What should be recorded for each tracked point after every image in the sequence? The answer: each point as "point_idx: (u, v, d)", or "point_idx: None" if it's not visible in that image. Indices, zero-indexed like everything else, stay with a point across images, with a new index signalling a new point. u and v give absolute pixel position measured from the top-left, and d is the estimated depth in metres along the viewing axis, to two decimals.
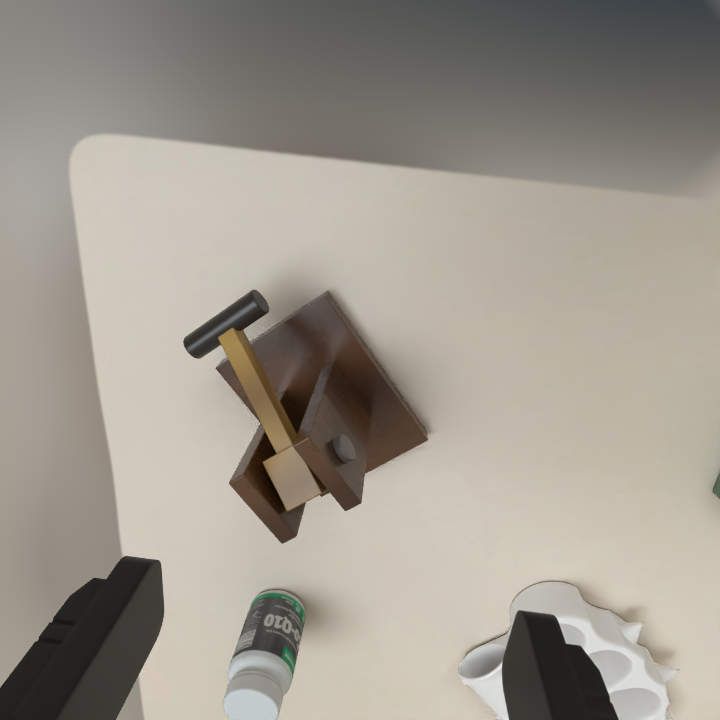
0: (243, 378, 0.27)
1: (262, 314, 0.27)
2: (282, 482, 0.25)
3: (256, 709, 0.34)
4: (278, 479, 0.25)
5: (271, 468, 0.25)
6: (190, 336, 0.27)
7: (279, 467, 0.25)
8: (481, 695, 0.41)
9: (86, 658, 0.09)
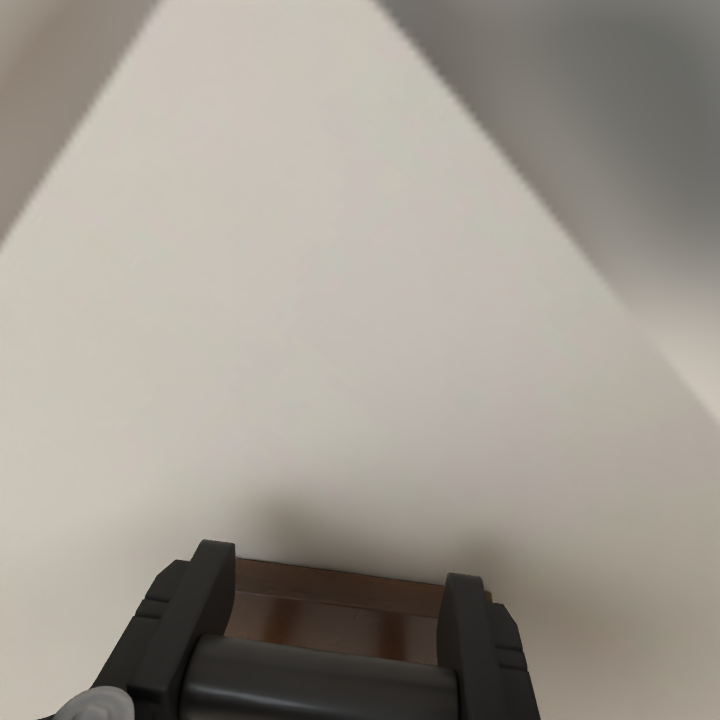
0: None
1: None
2: None
3: None
4: None
5: None
6: (214, 677, 0.09)
7: None
8: None
9: (186, 630, 0.09)
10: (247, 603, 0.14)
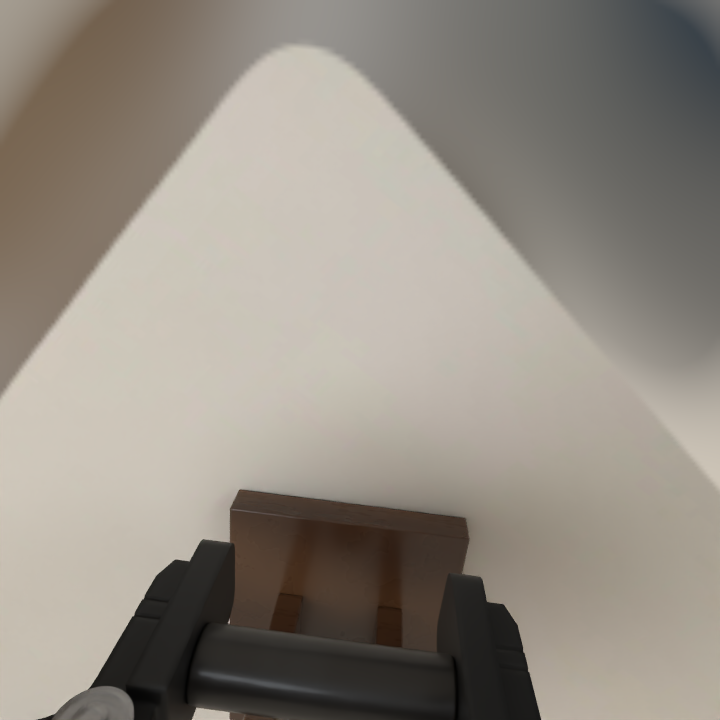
0: None
1: None
2: None
3: None
4: None
5: None
6: (216, 683, 0.09)
7: None
8: None
9: (186, 630, 0.09)
10: (280, 524, 0.19)
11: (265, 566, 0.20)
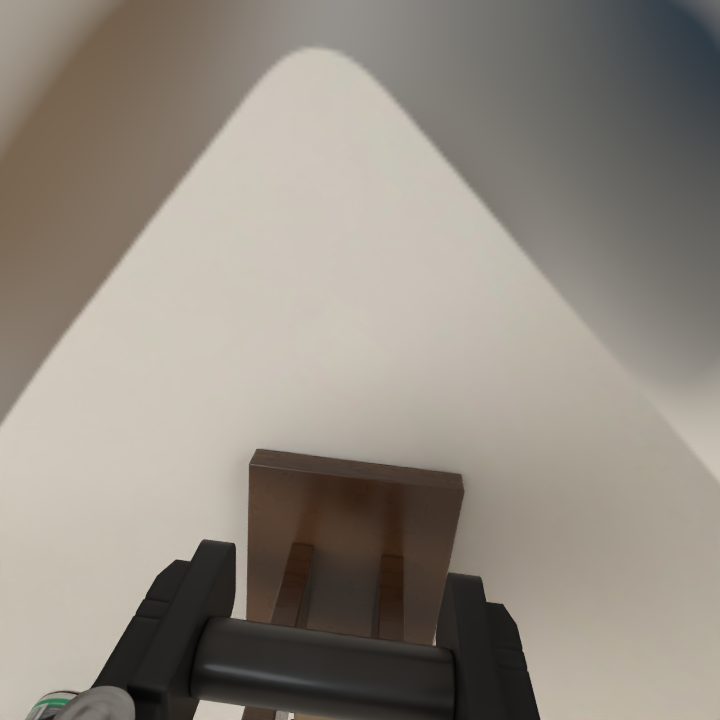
0: None
1: None
2: None
3: None
4: None
5: None
6: (217, 686, 0.09)
7: None
8: None
9: (187, 630, 0.09)
10: (294, 478, 0.21)
11: (280, 517, 0.22)
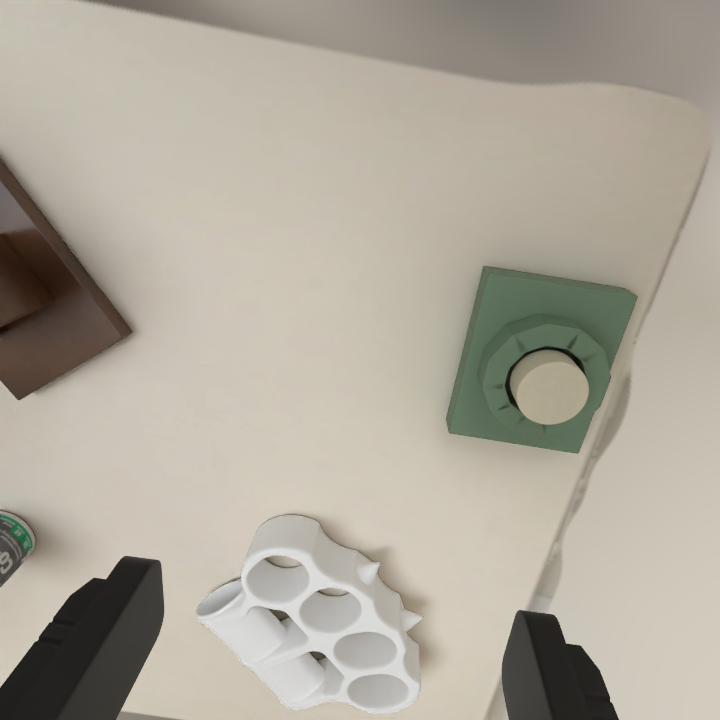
0: None
1: None
2: None
3: None
4: None
5: None
6: None
7: None
8: (217, 635, 0.37)
9: (86, 658, 0.09)
10: None
11: None
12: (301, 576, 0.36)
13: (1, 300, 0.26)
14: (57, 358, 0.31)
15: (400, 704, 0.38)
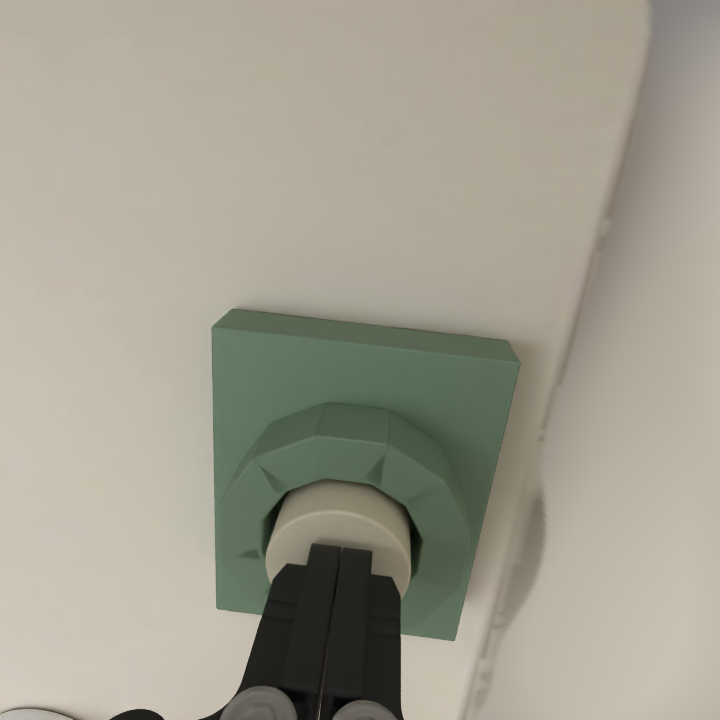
0: None
1: None
2: None
3: None
4: None
5: None
6: None
7: None
8: None
9: (320, 632, 0.09)
10: None
11: None
12: None
13: None
14: None
15: None
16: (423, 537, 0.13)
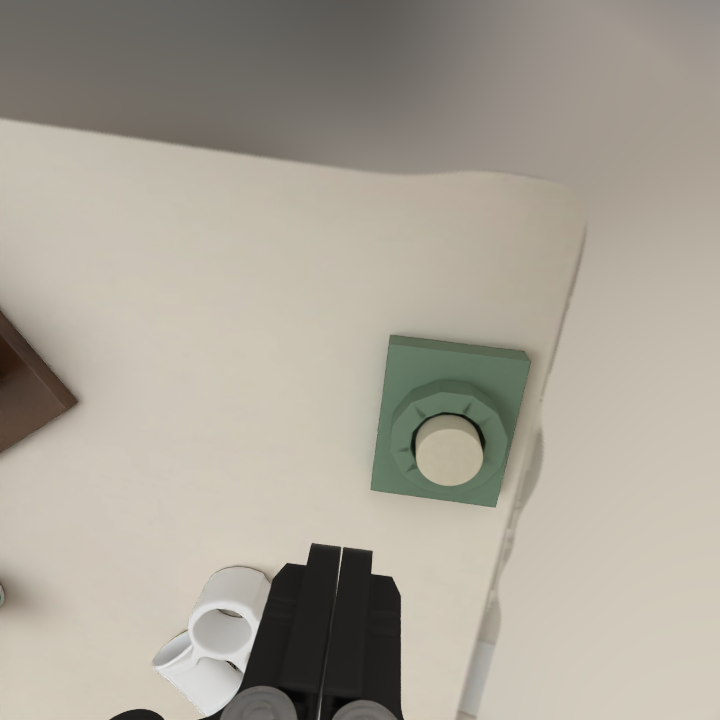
0: None
1: None
2: None
3: None
4: None
5: None
6: None
7: None
8: (173, 684, 0.39)
9: (321, 632, 0.09)
10: None
11: None
12: (249, 626, 0.37)
13: None
14: (10, 428, 0.33)
15: None
16: (486, 440, 0.28)
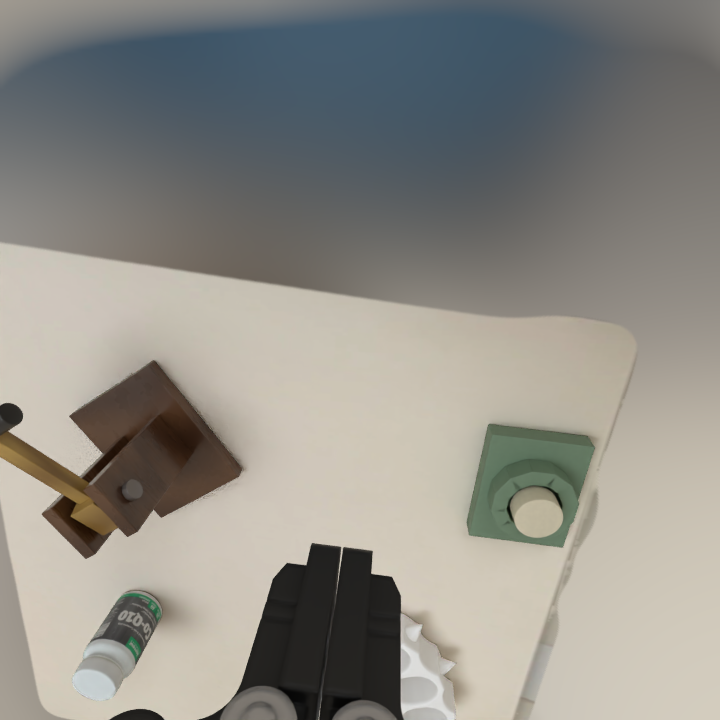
0: (24, 468, 0.32)
1: (18, 423, 0.30)
2: (92, 523, 0.34)
3: (98, 685, 0.43)
4: (88, 522, 0.34)
5: (79, 518, 0.34)
6: None
7: (86, 517, 0.34)
8: None
9: (321, 632, 0.09)
10: (88, 409, 0.41)
11: (101, 432, 0.42)
12: None
13: (168, 467, 0.39)
14: (191, 490, 0.44)
15: None
16: (563, 504, 0.39)
